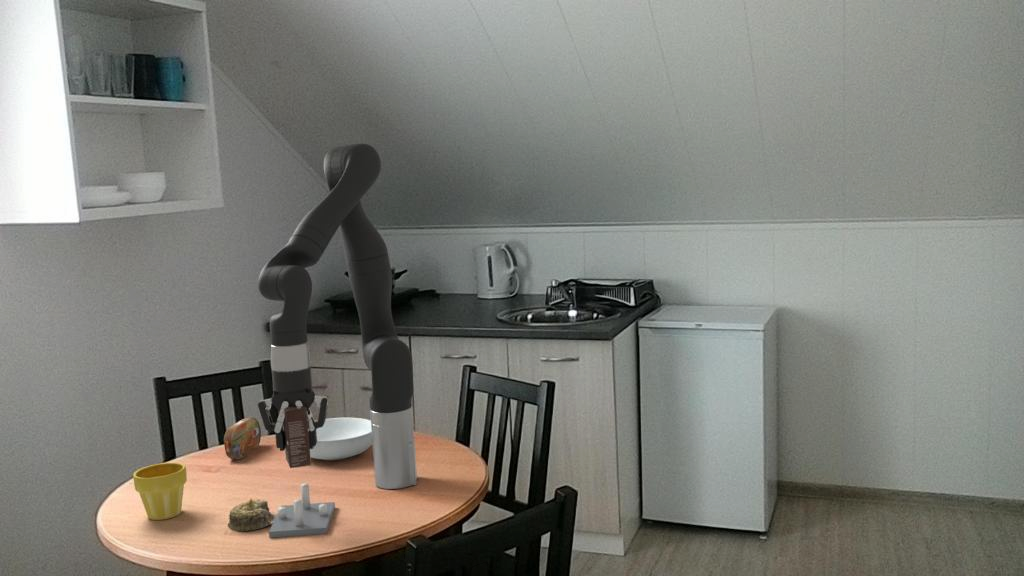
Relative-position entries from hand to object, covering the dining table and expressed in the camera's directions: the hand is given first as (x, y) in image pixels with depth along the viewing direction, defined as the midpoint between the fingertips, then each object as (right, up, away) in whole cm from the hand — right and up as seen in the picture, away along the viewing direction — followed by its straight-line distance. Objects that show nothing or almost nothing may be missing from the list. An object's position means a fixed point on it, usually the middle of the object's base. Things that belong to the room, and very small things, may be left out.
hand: (297, 448), depth 186 cm
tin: (-25, -10, +50) cm, 57 cm away
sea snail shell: (-10, -16, +3) cm, 19 cm away
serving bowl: (-1, -10, +46) cm, 47 cm away
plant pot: (-30, -16, +10) cm, 35 cm away
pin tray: (+1, -15, +2) cm, 15 cm away
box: (0, -3, 0) cm, 3 cm away
